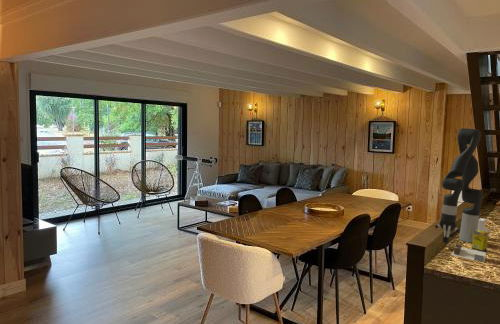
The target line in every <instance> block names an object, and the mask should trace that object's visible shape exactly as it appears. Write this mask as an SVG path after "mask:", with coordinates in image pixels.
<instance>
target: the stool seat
mask: <svg viewBox="0 0 500 324" xmlns="http://www.w3.org/2000/svg"><path fill="white" fill-rule="evenodd" d="M475 254H476V255H481V256H484V260H483V262H482V261H479V262H481V263H485V260H486V255H487V253H486V252H485V251H478V250H475V249H472V248H465V247H461V250H460V253H459V255H456V254H454V249H453V251H452V252H451V256H453V257H458V258H463V259H467V260H472V261H477V260H474V258H475ZM477 262H478V261H477Z"/></svg>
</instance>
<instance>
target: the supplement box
mask: <svg viewBox="0 0 500 324" xmlns="http://www.w3.org/2000/svg"><path fill="white" fill-rule="evenodd" d="M489 233H490V231H489V232H486V231H481V230H476V231H474V234H473V242H472V243H471V250H476V251H481V252H485V251H487V248H488V242H489Z"/></svg>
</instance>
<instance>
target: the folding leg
mask: <svg viewBox="0 0 500 324" xmlns="http://www.w3.org/2000/svg"><path fill="white" fill-rule="evenodd" d="M462 245H463V244H462V243H458V242H457V243H456V244H455V246H454V247H453V250H454V254H456V255H459V253H460V250H461V248H462Z"/></svg>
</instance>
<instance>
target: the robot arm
mask: <svg viewBox="0 0 500 324" xmlns="http://www.w3.org/2000/svg"><path fill="white" fill-rule="evenodd" d="M456 137H457V144H458V145H457V146H458V149H459V155H457V156H456V157H455V159H454V160H453V163H452V165H451V167H450V170H449V171H448V173H447V174H446V175H445V176H444V178H443V179H442V182H441V187H442V189H444V190H446V191H453V193H445V195H444V197H443V202H442V208H441V216H440V221H439V223H438V224H435V225H434V228H440V229H442V231H443V230H444V236H442V242H443V244H445V245H446V244H448V243H449V240H450V238H453V237H454V236H455V235H456V234H458V233H459V241H461V242H466V243H471V244H472V242H473V234H474V231H476V230H478V223H479V219H480V215H481V209H482V203H483V196H484V194H483V193H484V192H483V190H481V189H479V188H478V189H477V188H471V187H470V184H471V182H473V180H474V179H475V178H476V177H477V175H478V173H479V162H478V160H477V158H476V157H475V155H474V153H475V151H476V149H477V147H478V145H479V143H480V141H481V139H482V138H481V137H482V134H481V130H480V129H477V128H465V127H463V128H462V127H461V128H460V129H459V130H458V132H457V136H456ZM460 177H461V178H460ZM460 195H461V200H462V201H463V202H464V203H469V204H473V205H472V206H470V207H464V208H463V209H462V213H461V215H462V216H461V222H460V228H458V227H457V224H456V222H457V214H458V205H459V203H458V202H459V198H460ZM452 231H453V232H452ZM451 232H452V233H451Z"/></svg>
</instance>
